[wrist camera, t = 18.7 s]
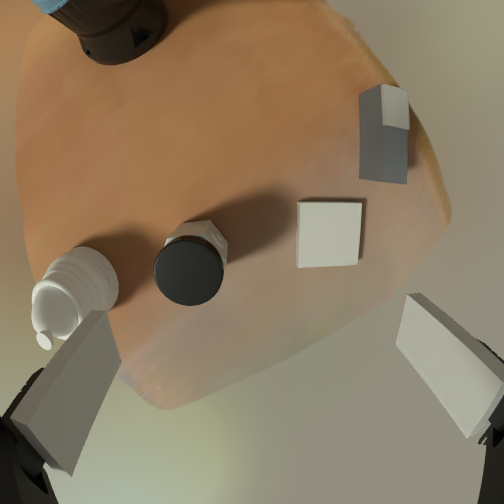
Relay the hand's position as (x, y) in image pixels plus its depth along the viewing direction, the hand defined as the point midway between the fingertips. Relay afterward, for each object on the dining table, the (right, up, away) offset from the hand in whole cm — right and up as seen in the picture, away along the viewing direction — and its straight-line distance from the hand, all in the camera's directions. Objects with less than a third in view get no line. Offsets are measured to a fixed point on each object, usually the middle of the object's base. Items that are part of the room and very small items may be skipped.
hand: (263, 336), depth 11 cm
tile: (+11, +11, +30) cm, 34 cm away
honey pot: (-29, -2, +32) cm, 44 cm away
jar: (-8, +4, +32) cm, 33 cm away
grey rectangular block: (+19, +22, +28) cm, 40 cm away
